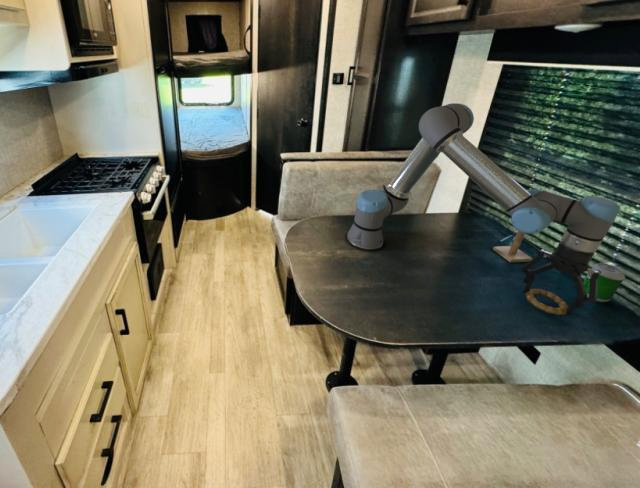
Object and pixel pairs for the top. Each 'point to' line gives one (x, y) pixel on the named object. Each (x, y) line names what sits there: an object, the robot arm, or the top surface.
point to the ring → (557, 311)
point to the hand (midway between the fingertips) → (546, 301)
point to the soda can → (605, 281)
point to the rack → (513, 250)
